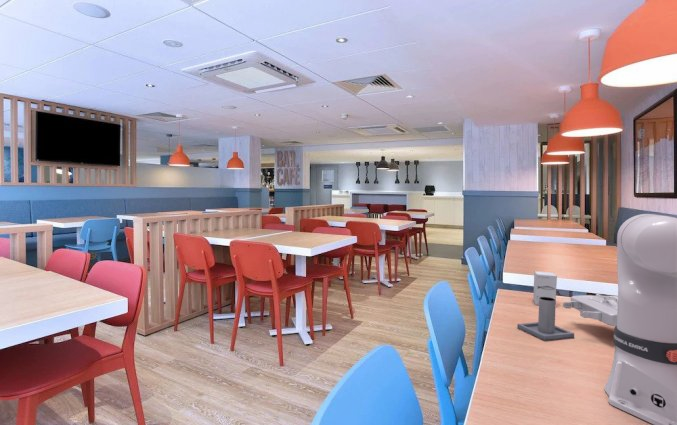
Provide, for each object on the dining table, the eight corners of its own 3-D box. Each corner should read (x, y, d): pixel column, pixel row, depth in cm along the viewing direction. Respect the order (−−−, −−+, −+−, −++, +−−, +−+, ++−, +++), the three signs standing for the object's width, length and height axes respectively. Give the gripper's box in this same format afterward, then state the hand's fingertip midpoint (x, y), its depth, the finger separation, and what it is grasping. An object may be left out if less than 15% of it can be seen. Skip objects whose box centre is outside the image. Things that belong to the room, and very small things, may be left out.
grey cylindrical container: (556, 334, 113) (558, 301, 113) (540, 333, 114) (542, 300, 114) (551, 329, 118) (552, 297, 117) (535, 328, 118) (537, 296, 118)
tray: (574, 338, 112) (574, 333, 112) (544, 341, 109) (544, 336, 109) (545, 325, 122) (545, 321, 122) (517, 328, 120) (517, 323, 120)
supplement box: (534, 305, 147) (535, 273, 146) (532, 300, 153) (534, 270, 153) (556, 307, 144) (557, 275, 143) (553, 302, 150) (554, 272, 150)
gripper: (643, 332, 104) (593, 331, 105) (596, 310, 125) (554, 309, 125) (644, 310, 104) (594, 309, 105) (597, 292, 124) (555, 291, 125)
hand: (572, 309), depth 115 cm, fingers open, 8 cm apart
